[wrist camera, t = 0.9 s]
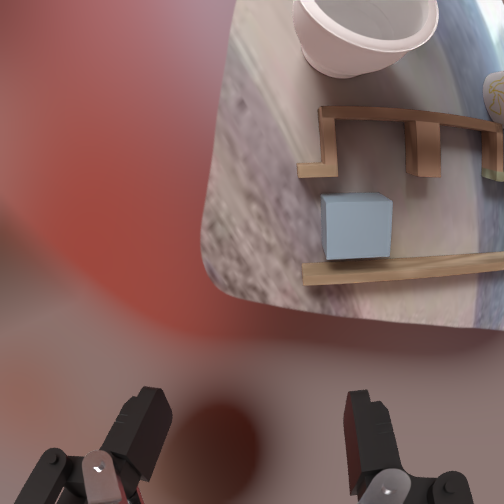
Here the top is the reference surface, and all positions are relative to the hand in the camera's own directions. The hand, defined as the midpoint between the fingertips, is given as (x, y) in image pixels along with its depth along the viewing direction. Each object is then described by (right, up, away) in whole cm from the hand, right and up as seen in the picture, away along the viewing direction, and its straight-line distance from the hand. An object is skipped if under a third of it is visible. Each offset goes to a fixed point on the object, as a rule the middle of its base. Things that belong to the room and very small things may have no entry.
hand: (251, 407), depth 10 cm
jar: (+10, +29, +16) cm, 34 cm away
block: (+11, +10, +23) cm, 28 cm away
